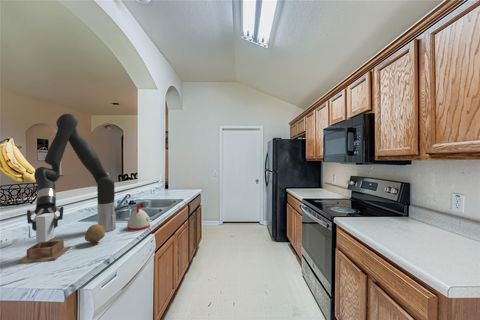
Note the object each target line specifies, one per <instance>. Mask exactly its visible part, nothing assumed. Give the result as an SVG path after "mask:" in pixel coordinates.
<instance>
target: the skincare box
mask: <svg viewBox="0 0 480 320" xmlns="http://www.w3.org/2000/svg"><path fill="white" fill-rule="evenodd" d="M35 216H36V215H35ZM35 234H36V235H35V240H36V241H35V243H39V242H47V241H51V240H52V239H55V228H54V213H46V214H42V215H39V216H36V231H35Z"/></svg>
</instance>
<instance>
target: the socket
mask: <svg viewBox="0 0 480 320" xmlns="http://www.w3.org/2000/svg"><path fill="white" fill-rule="evenodd" d="M64 243H65V241H64V239H61V240H48V241H47V242H36V243H35V244H34V245H33V246H30V247H29V248H27V249H26V255H25V256H24V257H23V258H21V259H20V260H18V261H17V263H18V264H26V263H39V262H49V261H56V260H58V259H59V258H60V257H61V256H62V255H64V254H65V253H67V251H68V250H70V249H71V245H69V246H68V245H67V246H64V245H65V244H64Z"/></svg>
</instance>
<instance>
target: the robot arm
mask: <svg viewBox="0 0 480 320" xmlns="http://www.w3.org/2000/svg"><path fill="white" fill-rule="evenodd" d="M56 127H57V130H56V134H55V136H54V138H53V139H52V142H51V144H50V145H49V148H48V150H47V153H46V155H45V157H44V160H43V161H44V163H45V164H48V165H49V166H51V168H49V167H46V166H39V167H38V168H36V169H35V171H34V175H33V177H34V180H35V182H36V185H37V195H36V201H35V203H36V204H35V209H34V210H30V209H27V210H26V217H27V218H26V220H27V224H31V229H32V230H33V231H34V232H36V216H39V215H42V214H46V213H54V229H56V228H57V227H58V224H59V221H60V220H63V218H64V207H63V206H60V207H57V206H56V205H57V204H56V203H57V195H56V194H57V193H56V182H57V181H58V180H59V178H60V174H61V173H60V171H61V170H60V169H61V162H62V160H63V159H62V158H64V153H65V150H66V147H67V144H68V142H69V144H70V146H71V148H72V150H73V151H74V153H75V155H76V156H77V158H78V159H79V161H80V162H81V164H82V165H83V166H84V167H85V169H86V170H88V172H89V173H90V174H91V175H92V177H93V179H94V182H95V183H96V185H97V186H96V187H97V188H96V189H97V191H96V193H97V194H96V195H97V199H96V200H97V224H99V225H101V226H102V227H103V228H104V230H105V233H106V232H111V231H114V230H115V229H116V228H117V225H116V223H117V221H116V219H117V218H116V215H117V214H116V213H115V197H116V195H115V189H116V187H115V181H114V180H113V179H112V178H111V176H110V175H109V174H108V173H107V172H106V170H105V169H104V167H103V164H102V162H101V159H100V158H99V156H98V154H97V153H96V151H95V149H94V147H92V145H90V143H89V142H88V141H87V140H85V139H84V138H83V136H82V134H80V132H79V130H78V128H77V127H78V119H77V117H76V116H75V115H73V114H71V113H64V114H62V115H60V116H59V117H58V118H57V120H56ZM56 212H58V213H59V215H58V216H57V214H56ZM34 214H35V217H33V219H32V216H33V215H34Z"/></svg>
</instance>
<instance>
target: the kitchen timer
mask: <svg viewBox="0 0 480 320" xmlns="http://www.w3.org/2000/svg"><path fill="white" fill-rule="evenodd" d="M141 207H142V206H141V205H140V204H137V205H136V210H134V211H133V212H132V213H131V214H130V216H129V217H128V218H127V224H126V230H128V231H129V232H130V231H131V232H132V231H133V232H134V231H135V232H136V231H143V230H144V231H145V230H147V229H150V227H151V219H150V216H149V215H148V214H147V212H146V211H145V210H143V209H141Z"/></svg>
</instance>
